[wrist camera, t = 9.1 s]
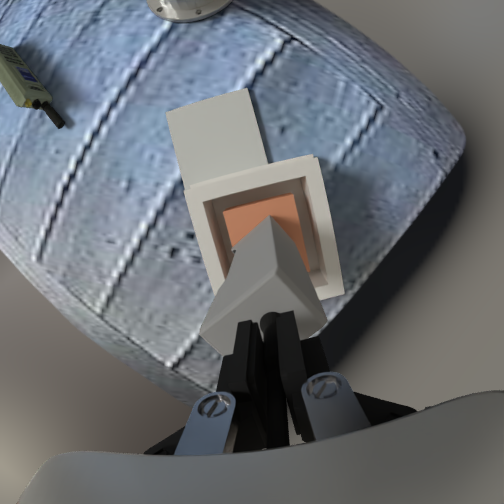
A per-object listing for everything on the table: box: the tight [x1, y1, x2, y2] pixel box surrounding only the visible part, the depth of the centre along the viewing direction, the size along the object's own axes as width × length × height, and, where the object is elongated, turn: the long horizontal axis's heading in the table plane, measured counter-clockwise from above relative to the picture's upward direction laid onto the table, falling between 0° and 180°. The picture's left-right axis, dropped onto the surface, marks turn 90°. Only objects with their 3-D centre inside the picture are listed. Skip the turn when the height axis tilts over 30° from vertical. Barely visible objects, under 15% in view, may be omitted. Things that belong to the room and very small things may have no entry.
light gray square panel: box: [166, 88, 268, 190], centre depth 33 cm, size 10×10×1 cm
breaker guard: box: [184, 154, 344, 300], centre depth 32 cm, size 15×14×7 cm
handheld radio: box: [0, 44, 65, 129], centre depth 28 cm, size 7×3×25 cm
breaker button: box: [223, 192, 310, 272], centre depth 31 cm, size 8×7×3 cm
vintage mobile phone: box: [199, 215, 328, 449], centre depth 18 cm, size 4×5×25 cm
